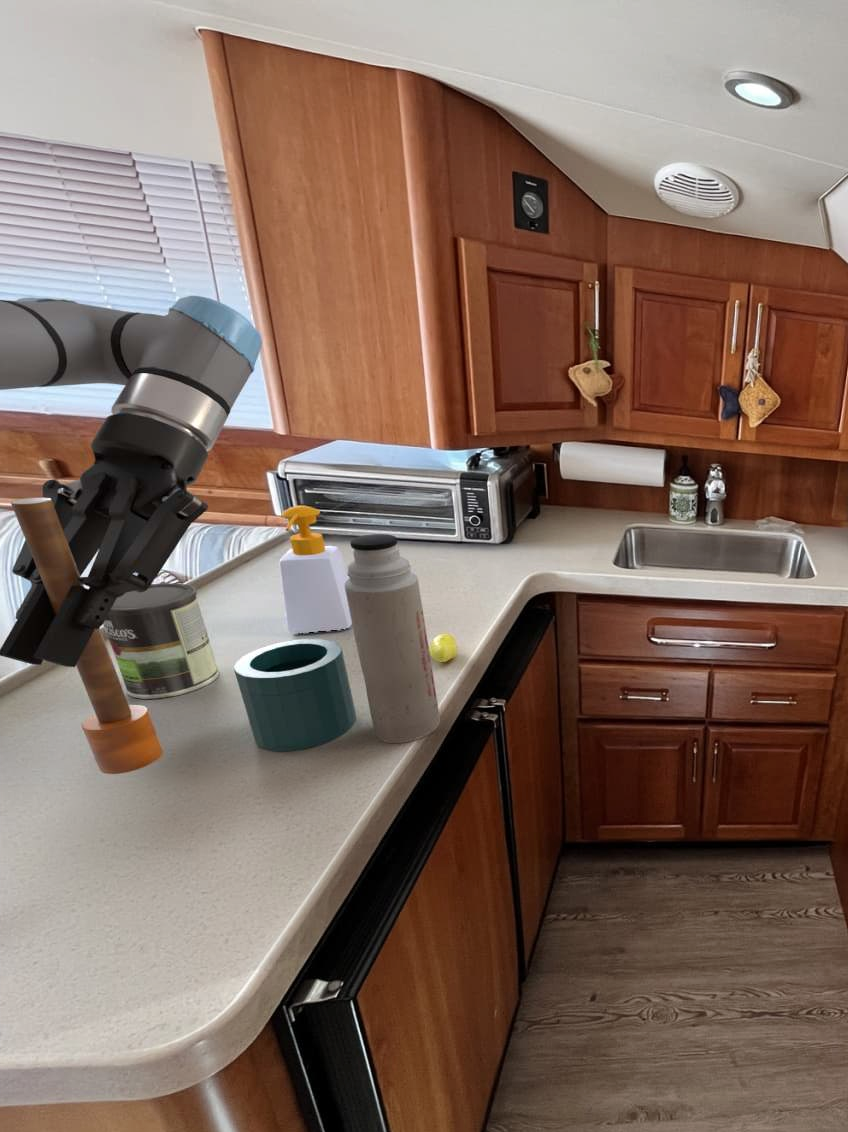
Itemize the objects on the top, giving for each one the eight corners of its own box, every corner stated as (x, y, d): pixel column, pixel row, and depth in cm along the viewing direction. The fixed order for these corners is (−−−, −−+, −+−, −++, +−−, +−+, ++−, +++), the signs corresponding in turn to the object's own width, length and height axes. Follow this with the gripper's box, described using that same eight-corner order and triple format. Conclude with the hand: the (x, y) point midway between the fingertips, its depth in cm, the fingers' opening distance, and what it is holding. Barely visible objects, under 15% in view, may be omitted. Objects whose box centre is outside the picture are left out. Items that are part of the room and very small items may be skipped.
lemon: (460, 646, 113) (458, 626, 111) (456, 667, 106) (453, 646, 105) (433, 648, 111) (430, 628, 110) (428, 670, 104) (424, 649, 103)
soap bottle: (279, 648, 107) (246, 521, 99) (300, 616, 119) (272, 500, 110) (347, 642, 111) (321, 519, 103) (360, 611, 123) (338, 499, 114)
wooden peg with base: (92, 779, 59) (-23, 508, 49) (109, 753, 63) (5, 495, 53) (155, 767, 61) (57, 505, 52) (168, 743, 65) (79, 493, 55)
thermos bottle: (445, 709, 94) (417, 528, 84) (433, 740, 87) (401, 547, 77) (384, 714, 92) (348, 529, 82) (366, 746, 85) (324, 548, 75)
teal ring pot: (247, 760, 81) (225, 684, 77) (262, 715, 89) (243, 646, 85) (353, 739, 86) (338, 668, 82) (358, 699, 95) (344, 633, 91)
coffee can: (153, 706, 89) (120, 615, 84) (110, 688, 93) (77, 599, 87) (236, 675, 98) (211, 591, 93) (195, 659, 102) (169, 578, 96)
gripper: (267, 462, 66) (167, 679, 57) (118, 451, 66) (-7, 667, 57) (209, 415, 59) (85, 653, 50) (42, 402, 59) (-113, 640, 50)
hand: (37, 660), depth 54 cm, fingers closed on wooden peg with base, 2 cm apart
